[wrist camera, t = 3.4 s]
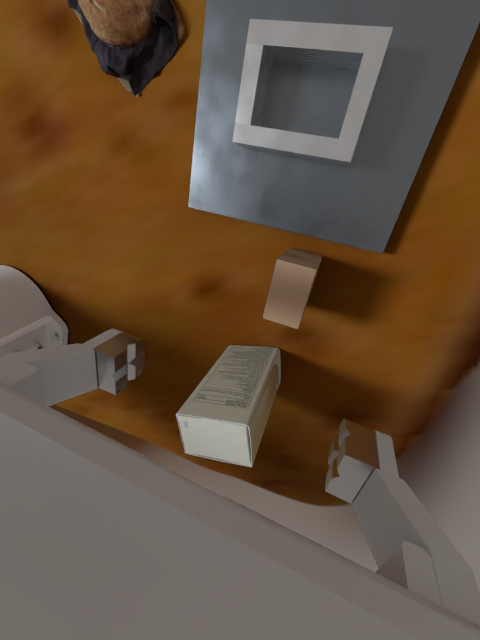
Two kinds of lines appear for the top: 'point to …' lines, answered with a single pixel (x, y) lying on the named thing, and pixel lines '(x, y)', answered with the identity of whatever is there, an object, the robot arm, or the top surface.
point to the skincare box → (231, 405)
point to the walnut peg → (291, 286)
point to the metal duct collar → (322, 109)
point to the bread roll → (131, 37)
